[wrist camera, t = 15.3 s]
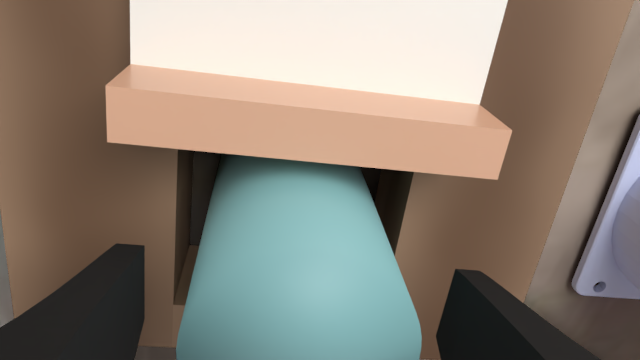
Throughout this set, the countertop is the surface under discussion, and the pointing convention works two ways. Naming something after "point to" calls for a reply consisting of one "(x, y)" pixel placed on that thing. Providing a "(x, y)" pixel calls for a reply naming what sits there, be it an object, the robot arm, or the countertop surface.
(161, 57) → the panel
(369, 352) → the peg
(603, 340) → the countertop surface
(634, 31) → the countertop surface
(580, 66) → the socket block
